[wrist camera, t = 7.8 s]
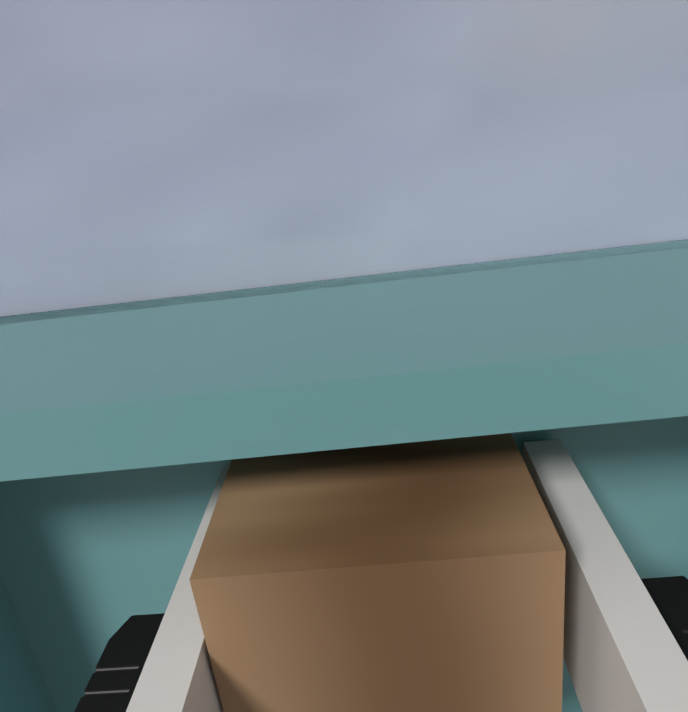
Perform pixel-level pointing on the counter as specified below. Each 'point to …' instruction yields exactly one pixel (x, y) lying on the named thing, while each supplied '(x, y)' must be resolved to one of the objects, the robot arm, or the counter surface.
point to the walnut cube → (384, 582)
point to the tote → (316, 420)
